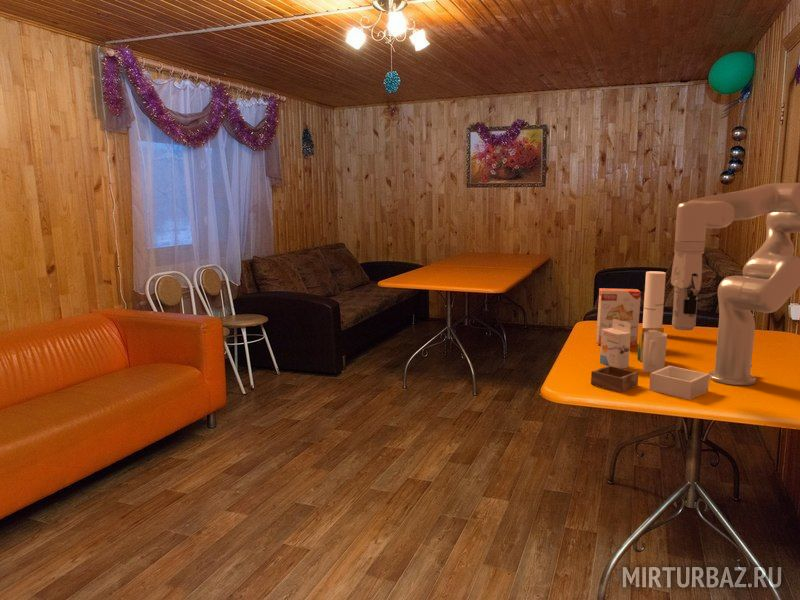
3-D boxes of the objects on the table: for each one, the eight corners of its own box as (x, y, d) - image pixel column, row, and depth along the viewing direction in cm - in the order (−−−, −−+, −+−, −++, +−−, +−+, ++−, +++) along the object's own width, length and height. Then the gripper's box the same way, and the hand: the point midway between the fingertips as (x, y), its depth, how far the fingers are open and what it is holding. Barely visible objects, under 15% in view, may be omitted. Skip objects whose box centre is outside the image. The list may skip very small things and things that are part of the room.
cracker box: (598, 345, 227) (601, 290, 223) (595, 341, 233) (598, 287, 229) (637, 347, 225) (641, 291, 221) (634, 343, 231) (637, 288, 227)
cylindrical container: (664, 336, 240) (668, 273, 236) (646, 336, 241) (650, 273, 236) (657, 332, 248) (661, 271, 243) (639, 332, 248) (643, 271, 243)
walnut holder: (608, 377, 188) (608, 365, 187) (637, 385, 181) (638, 372, 180) (590, 384, 181) (591, 371, 181) (620, 392, 174) (621, 378, 174)
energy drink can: (694, 331, 169) (698, 277, 166) (670, 329, 171) (674, 276, 169) (696, 327, 174) (699, 275, 171) (672, 325, 177) (676, 273, 174)
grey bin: (668, 381, 184) (669, 365, 183) (708, 390, 175) (709, 374, 174) (649, 389, 176) (650, 373, 175) (689, 399, 168) (691, 382, 167)
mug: (644, 366, 200) (647, 330, 198) (666, 369, 196) (669, 333, 194) (637, 374, 192) (639, 336, 190) (659, 377, 188) (662, 339, 186)
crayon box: (658, 359, 208) (660, 326, 206) (662, 361, 205) (664, 328, 203) (636, 359, 208) (639, 326, 206) (640, 361, 205) (642, 328, 203)
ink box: (598, 363, 204) (601, 319, 202) (610, 361, 206) (612, 318, 204) (617, 369, 197) (620, 324, 194) (629, 367, 199) (632, 323, 196)
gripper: (664, 244, 177) (660, 305, 180) (687, 250, 160) (682, 317, 164) (690, 244, 177) (686, 305, 180) (717, 250, 160) (711, 317, 163)
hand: (684, 310), depth 172 cm, fingers closed on energy drink can, 6 cm apart
